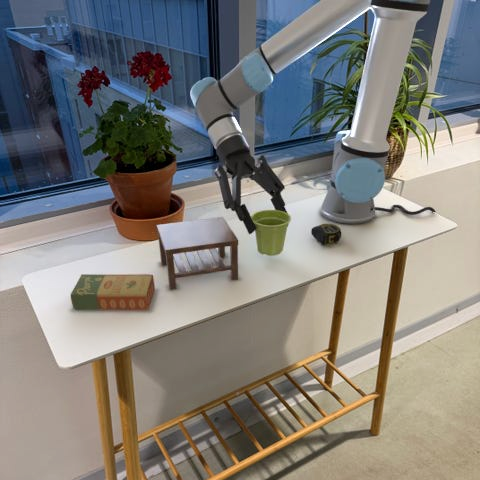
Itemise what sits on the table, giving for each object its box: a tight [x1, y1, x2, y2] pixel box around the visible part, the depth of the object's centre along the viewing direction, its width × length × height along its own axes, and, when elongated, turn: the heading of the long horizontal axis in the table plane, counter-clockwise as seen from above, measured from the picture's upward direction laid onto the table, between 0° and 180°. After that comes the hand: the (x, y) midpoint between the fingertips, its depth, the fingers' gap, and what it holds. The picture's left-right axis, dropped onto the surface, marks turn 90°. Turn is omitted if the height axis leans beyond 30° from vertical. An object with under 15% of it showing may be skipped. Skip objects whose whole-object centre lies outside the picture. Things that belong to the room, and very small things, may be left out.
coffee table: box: [156, 216, 239, 291], centre depth 112 cm, size 16×13×10 cm
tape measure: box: [310, 223, 342, 246], centre depth 126 cm, size 7×7×4 cm
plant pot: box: [250, 209, 292, 257], centre depth 116 cm, size 9×9×9 cm
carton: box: [70, 273, 156, 311], centre depth 104 cm, size 8×16×4 cm, turn 89°
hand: (269, 225), depth 115 cm, fingers closed on plant pot, 9 cm apart
